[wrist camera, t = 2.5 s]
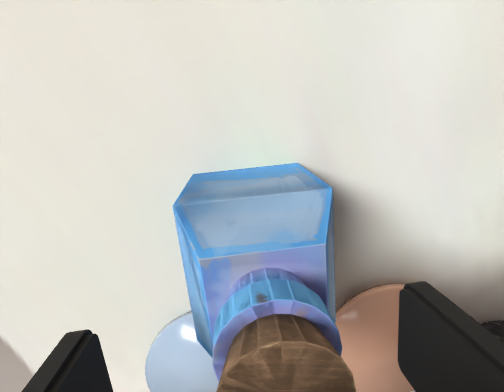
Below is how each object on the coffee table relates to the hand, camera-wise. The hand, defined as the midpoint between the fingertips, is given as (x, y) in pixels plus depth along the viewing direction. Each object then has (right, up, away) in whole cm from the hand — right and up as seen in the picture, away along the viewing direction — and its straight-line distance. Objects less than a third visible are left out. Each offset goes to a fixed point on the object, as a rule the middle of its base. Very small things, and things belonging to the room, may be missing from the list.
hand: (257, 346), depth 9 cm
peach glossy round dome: (+9, -5, +12) cm, 16 cm away
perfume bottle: (0, +3, +9) cm, 10 cm away
